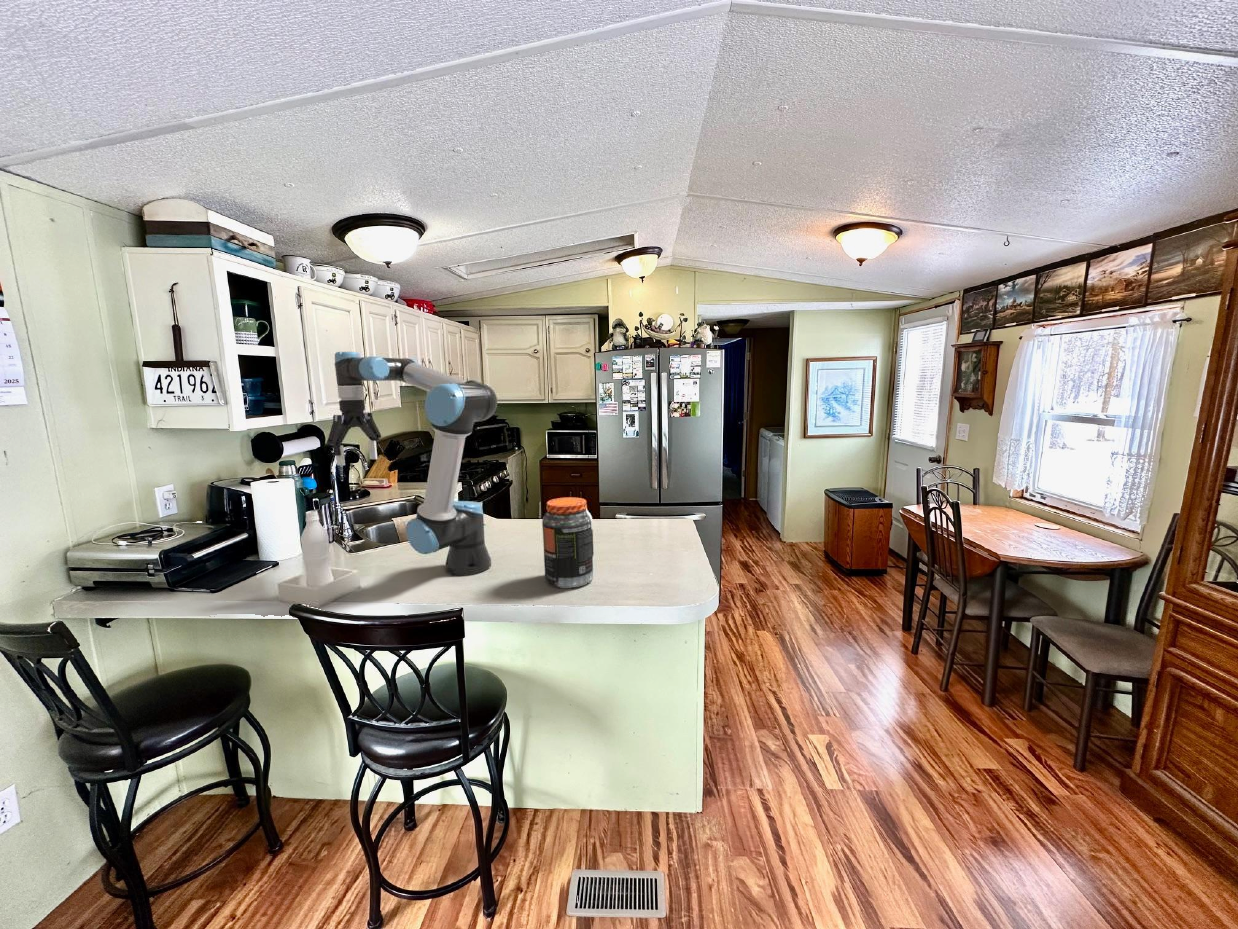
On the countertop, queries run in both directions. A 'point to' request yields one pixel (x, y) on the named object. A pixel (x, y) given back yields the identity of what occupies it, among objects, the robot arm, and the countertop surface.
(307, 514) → the water bottle
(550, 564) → the supplement tub
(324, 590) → the bin
